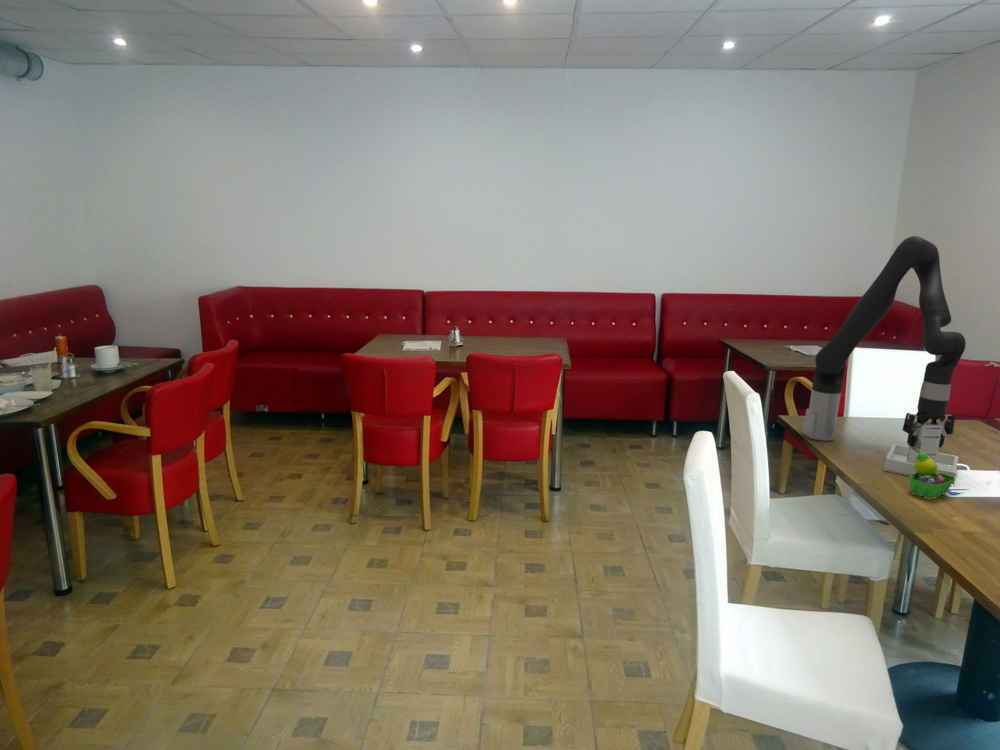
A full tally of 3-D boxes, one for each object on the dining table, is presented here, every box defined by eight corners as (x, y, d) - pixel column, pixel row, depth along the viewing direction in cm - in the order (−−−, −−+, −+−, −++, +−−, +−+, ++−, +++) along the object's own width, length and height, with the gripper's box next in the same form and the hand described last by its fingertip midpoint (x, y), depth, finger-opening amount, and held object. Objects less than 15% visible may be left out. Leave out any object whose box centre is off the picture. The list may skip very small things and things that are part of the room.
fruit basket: (933, 503, 180) (941, 464, 177) (900, 491, 187) (907, 454, 184) (953, 494, 185) (961, 457, 183) (920, 483, 193) (927, 447, 190)
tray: (953, 485, 192) (955, 473, 191) (883, 470, 202) (885, 458, 201) (956, 468, 206) (958, 456, 205) (891, 454, 216) (893, 443, 215)
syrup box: (935, 470, 201) (944, 425, 197) (916, 469, 201) (924, 425, 197) (923, 463, 206) (932, 419, 203) (905, 462, 206) (913, 419, 203)
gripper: (919, 399, 194) (909, 450, 198) (965, 400, 195) (955, 451, 199) (903, 392, 202) (894, 441, 205) (948, 393, 202) (938, 442, 206)
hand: (924, 446), depth 202 cm, fingers open, 8 cm apart
